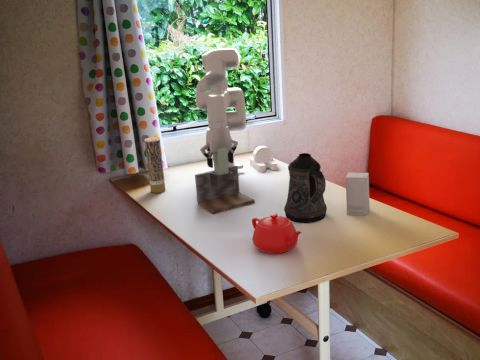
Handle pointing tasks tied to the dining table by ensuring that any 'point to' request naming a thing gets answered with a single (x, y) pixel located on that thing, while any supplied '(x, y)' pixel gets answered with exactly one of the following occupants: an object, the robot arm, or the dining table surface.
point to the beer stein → (305, 191)
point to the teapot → (274, 234)
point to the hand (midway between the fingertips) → (220, 164)
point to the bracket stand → (220, 191)
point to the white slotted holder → (263, 159)
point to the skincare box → (357, 193)
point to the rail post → (221, 161)
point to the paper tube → (155, 164)
